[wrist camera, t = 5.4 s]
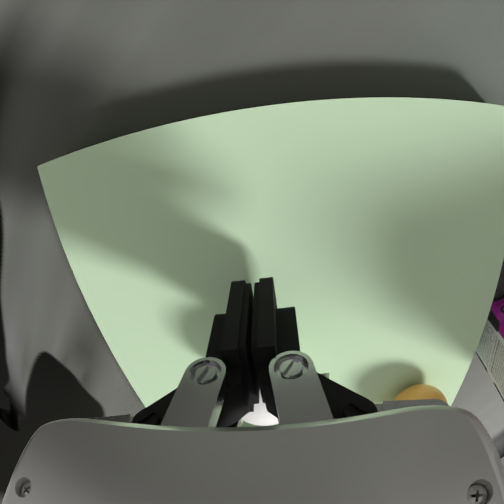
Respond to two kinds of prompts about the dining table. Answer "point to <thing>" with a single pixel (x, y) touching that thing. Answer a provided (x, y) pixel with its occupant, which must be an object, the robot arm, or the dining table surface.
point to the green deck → (294, 235)
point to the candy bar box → (494, 345)
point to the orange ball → (420, 393)
